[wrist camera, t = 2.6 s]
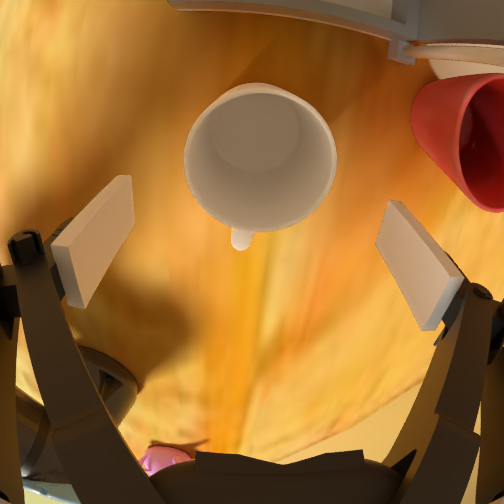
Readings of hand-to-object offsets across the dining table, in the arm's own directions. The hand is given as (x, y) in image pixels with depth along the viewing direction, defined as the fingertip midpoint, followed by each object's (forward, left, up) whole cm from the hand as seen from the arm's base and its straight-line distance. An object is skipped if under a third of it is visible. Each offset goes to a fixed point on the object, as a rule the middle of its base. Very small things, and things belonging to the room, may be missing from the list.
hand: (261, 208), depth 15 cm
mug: (0, 0, -13) cm, 13 cm away
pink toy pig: (-13, -68, -13) cm, 71 cm away
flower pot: (+17, +6, -13) cm, 22 cm away
